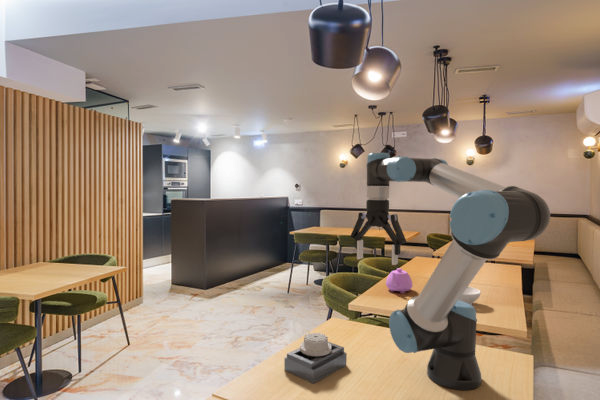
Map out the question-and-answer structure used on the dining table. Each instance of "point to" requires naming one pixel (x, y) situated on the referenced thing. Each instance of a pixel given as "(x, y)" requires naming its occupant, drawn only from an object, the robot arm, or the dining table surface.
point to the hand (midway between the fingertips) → (376, 261)
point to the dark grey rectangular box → (315, 363)
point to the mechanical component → (315, 345)
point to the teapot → (399, 281)
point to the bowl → (470, 295)
